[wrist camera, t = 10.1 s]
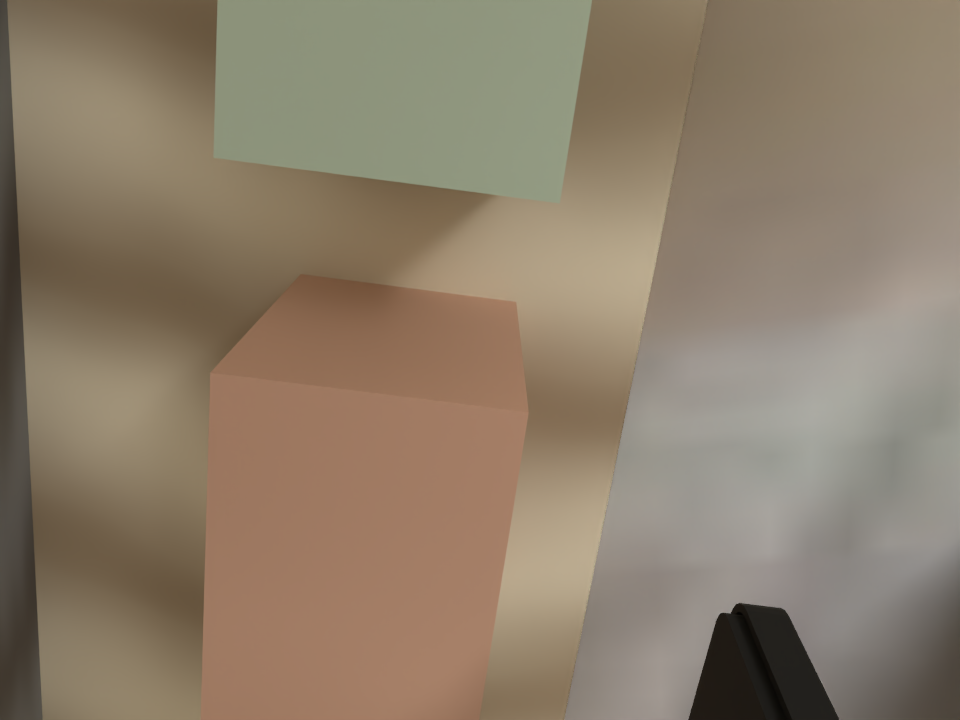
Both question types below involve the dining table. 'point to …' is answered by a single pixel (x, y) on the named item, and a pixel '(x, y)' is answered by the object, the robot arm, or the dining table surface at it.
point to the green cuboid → (403, 89)
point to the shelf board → (244, 300)
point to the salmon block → (360, 504)
